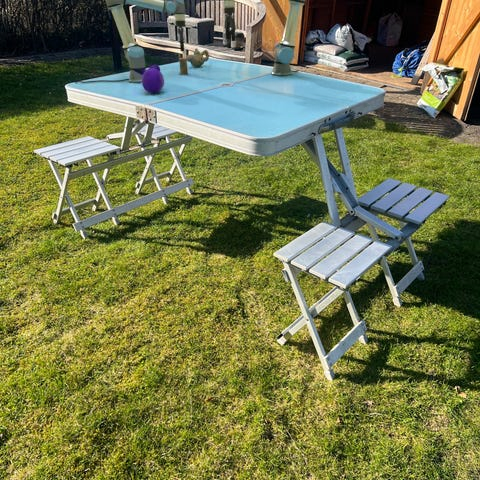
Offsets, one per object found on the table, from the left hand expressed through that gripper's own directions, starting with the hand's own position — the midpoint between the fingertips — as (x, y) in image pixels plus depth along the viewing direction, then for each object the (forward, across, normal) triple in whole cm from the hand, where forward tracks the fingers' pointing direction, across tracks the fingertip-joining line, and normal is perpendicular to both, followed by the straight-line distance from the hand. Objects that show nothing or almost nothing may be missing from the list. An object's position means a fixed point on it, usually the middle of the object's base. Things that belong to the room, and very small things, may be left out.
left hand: (182, 50), depth 353 cm
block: (+18, 0, 0) cm, 18 cm away
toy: (+18, +60, -22) cm, 67 cm away
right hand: (-10, +30, +36) cm, 48 cm away
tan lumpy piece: (+18, -29, +12) cm, 36 cm away
